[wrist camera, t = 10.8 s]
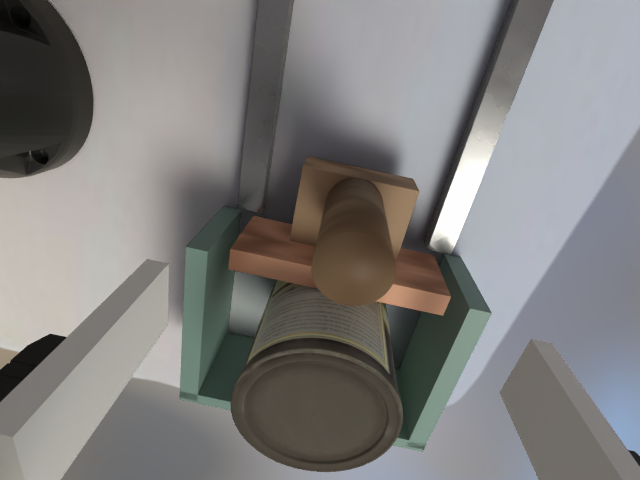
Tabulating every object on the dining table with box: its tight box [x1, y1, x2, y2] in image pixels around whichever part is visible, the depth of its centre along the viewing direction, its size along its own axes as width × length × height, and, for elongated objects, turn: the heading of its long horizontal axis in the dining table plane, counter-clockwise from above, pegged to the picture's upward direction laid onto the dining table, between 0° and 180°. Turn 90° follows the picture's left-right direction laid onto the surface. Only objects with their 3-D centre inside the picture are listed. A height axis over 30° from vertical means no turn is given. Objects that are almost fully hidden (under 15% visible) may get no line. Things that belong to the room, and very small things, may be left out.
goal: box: [180, 206, 492, 452], centre depth 31 cm, size 21×15×8 cm
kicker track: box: [237, 0, 554, 254], centre depth 26 cm, size 18×23×2 cm
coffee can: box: [230, 280, 403, 472], centre depth 28 cm, size 10×10×14 cm
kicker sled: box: [228, 156, 451, 316], centre depth 24 cm, size 15×7×12 cm, turn 79°
